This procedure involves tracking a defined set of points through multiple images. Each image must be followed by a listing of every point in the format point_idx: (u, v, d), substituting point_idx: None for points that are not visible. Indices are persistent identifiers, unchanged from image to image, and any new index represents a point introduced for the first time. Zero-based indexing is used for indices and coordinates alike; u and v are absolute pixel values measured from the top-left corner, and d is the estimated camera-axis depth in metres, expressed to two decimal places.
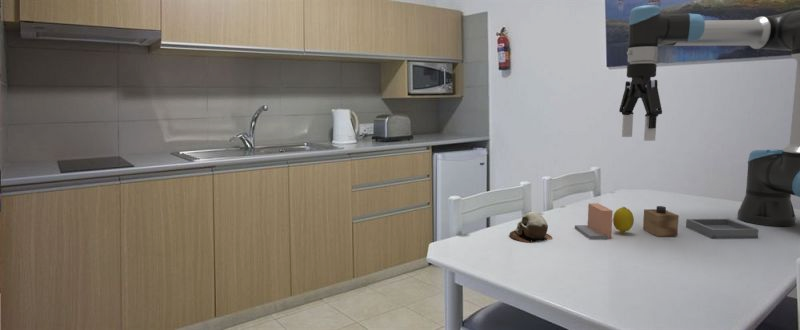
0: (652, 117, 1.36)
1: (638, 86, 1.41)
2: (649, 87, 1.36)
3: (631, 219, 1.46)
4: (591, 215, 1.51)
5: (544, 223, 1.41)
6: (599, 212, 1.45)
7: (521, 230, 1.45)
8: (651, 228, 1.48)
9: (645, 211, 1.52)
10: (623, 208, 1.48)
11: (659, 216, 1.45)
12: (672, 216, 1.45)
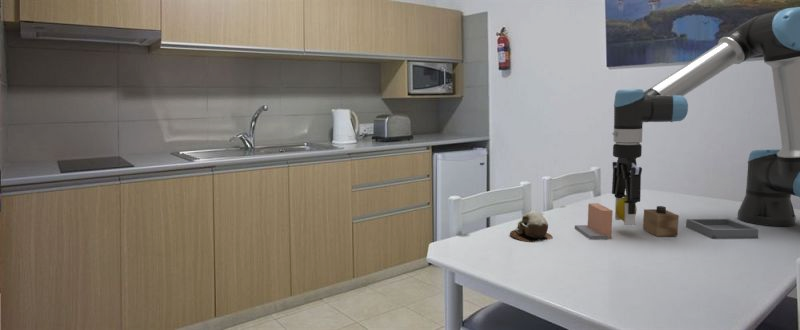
0: (631, 204, 1.43)
1: (624, 167, 1.45)
2: (633, 175, 1.41)
3: None
4: (591, 215, 1.51)
5: (544, 222, 1.42)
6: (599, 212, 1.45)
7: (521, 229, 1.46)
8: (651, 228, 1.48)
9: (645, 211, 1.52)
10: (626, 198, 1.47)
11: (659, 216, 1.45)
12: (672, 216, 1.45)
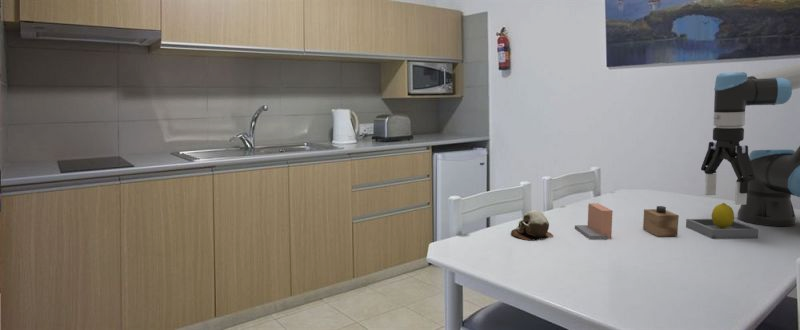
0: (744, 182, 1.39)
1: (726, 150, 1.44)
2: (740, 153, 1.39)
3: (732, 215, 1.46)
4: (591, 215, 1.51)
5: (545, 221, 1.43)
6: (599, 212, 1.45)
7: (522, 228, 1.47)
8: (651, 228, 1.48)
9: (645, 211, 1.52)
10: (723, 204, 1.48)
11: (659, 216, 1.45)
12: (672, 216, 1.45)
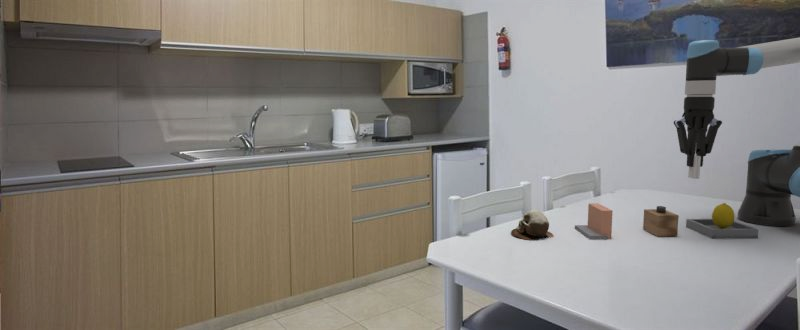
0: (687, 156, 1.47)
1: None
2: None
3: (733, 215, 1.46)
4: (591, 215, 1.51)
5: (546, 221, 1.44)
6: (599, 212, 1.45)
7: (523, 228, 1.47)
8: (651, 228, 1.48)
9: (645, 211, 1.52)
10: (724, 204, 1.48)
11: (659, 216, 1.45)
12: (672, 216, 1.45)
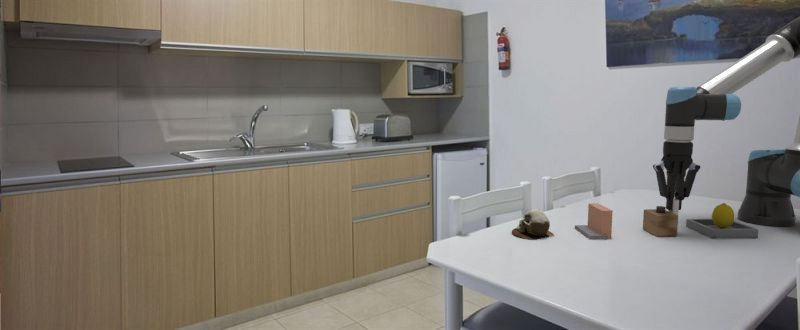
0: (666, 199, 1.48)
1: None
2: (656, 172, 1.48)
3: (733, 215, 1.46)
4: (591, 215, 1.51)
5: (546, 220, 1.45)
6: (599, 212, 1.45)
7: (523, 227, 1.48)
8: (651, 228, 1.48)
9: (644, 211, 1.52)
10: (724, 204, 1.48)
11: (659, 216, 1.45)
12: (672, 216, 1.45)
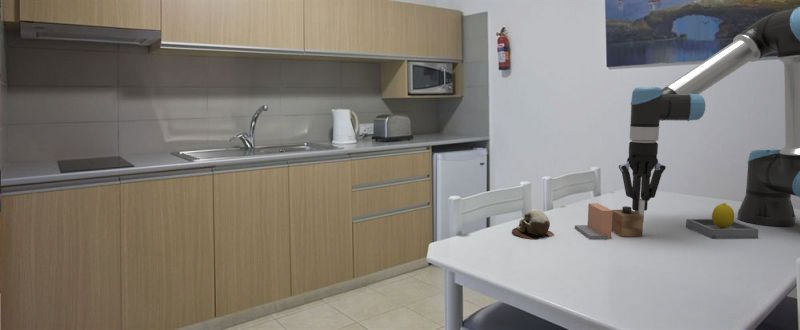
0: (632, 199, 1.48)
1: None
2: (622, 172, 1.48)
3: (733, 215, 1.46)
4: (591, 215, 1.51)
5: (546, 220, 1.45)
6: (599, 212, 1.45)
7: (523, 227, 1.48)
8: (617, 228, 1.48)
9: None
10: (724, 204, 1.48)
11: (624, 216, 1.44)
12: (637, 216, 1.44)
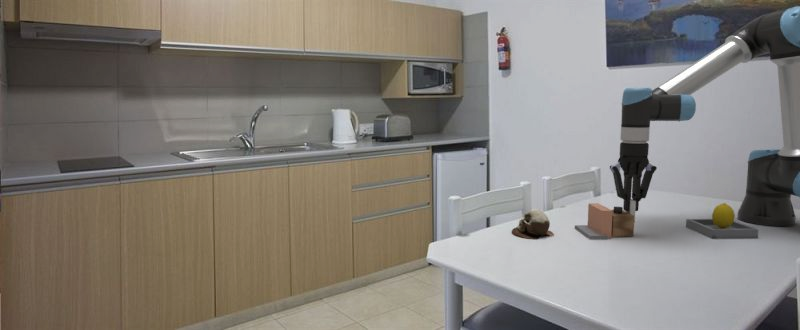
0: (624, 200, 1.48)
1: None
2: (613, 173, 1.48)
3: (733, 215, 1.46)
4: (591, 215, 1.51)
5: (546, 220, 1.45)
6: (599, 212, 1.45)
7: (523, 227, 1.48)
8: None
9: None
10: (724, 204, 1.48)
11: (615, 216, 1.44)
12: (628, 216, 1.44)
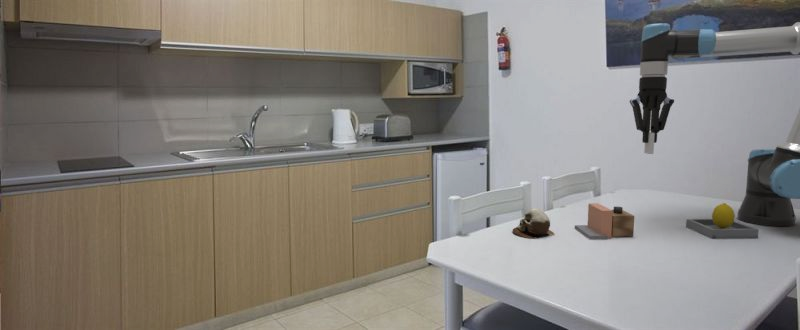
0: (643, 132, 1.57)
1: None
2: None
3: (733, 215, 1.46)
4: (591, 215, 1.51)
5: (547, 219, 1.46)
6: (599, 212, 1.45)
7: (524, 227, 1.49)
8: None
9: None
10: (724, 204, 1.48)
11: (615, 216, 1.44)
12: (628, 216, 1.44)
